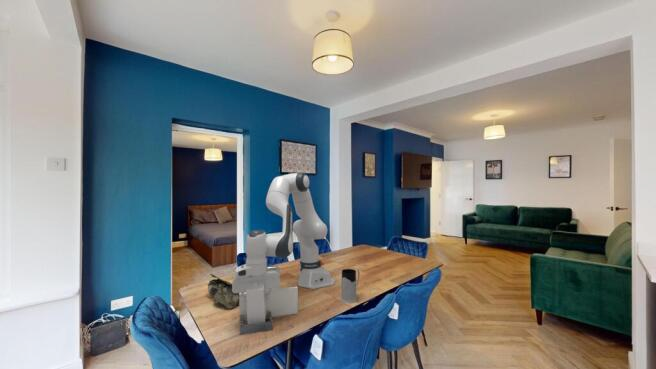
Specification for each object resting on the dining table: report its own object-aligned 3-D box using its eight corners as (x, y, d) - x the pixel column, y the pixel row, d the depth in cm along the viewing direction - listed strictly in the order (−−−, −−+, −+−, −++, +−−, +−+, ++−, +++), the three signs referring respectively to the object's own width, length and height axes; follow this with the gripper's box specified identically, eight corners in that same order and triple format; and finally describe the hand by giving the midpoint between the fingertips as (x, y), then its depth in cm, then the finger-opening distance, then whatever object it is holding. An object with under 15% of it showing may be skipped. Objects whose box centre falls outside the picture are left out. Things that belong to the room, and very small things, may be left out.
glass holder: (337, 300, 140) (337, 271, 140) (352, 291, 151) (352, 265, 151) (350, 304, 134) (350, 275, 134) (365, 295, 145) (365, 268, 145)
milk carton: (250, 318, 118) (248, 275, 118) (266, 316, 119) (264, 274, 119) (247, 326, 111) (245, 281, 111) (264, 324, 112) (263, 280, 112)
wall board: (296, 311, 127) (296, 286, 127) (297, 313, 125) (297, 287, 125) (239, 319, 119) (239, 292, 119) (239, 321, 117) (239, 294, 117)
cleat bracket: (270, 317, 120) (270, 311, 121) (272, 329, 110) (272, 322, 110) (240, 322, 117) (240, 315, 117) (239, 334, 107) (239, 327, 107)
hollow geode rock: (213, 301, 149) (192, 286, 142) (228, 281, 155) (210, 266, 148) (234, 317, 128) (212, 301, 122) (252, 294, 135) (232, 277, 128)
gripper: (279, 264, 122) (279, 294, 122) (232, 268, 116) (232, 300, 116) (281, 268, 116) (281, 299, 115) (231, 273, 109) (231, 306, 109)
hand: (256, 300), depth 115 cm, fingers open, 8 cm apart
